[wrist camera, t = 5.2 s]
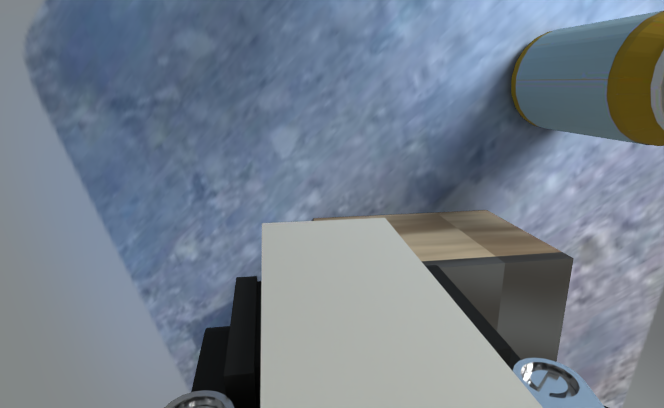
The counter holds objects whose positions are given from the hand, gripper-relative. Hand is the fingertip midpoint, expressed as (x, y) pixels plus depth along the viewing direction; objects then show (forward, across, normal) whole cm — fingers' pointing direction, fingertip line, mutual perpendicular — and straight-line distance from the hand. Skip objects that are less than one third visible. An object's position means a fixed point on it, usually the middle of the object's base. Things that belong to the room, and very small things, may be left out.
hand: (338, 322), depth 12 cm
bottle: (+21, -20, -6) cm, 29 cm away
